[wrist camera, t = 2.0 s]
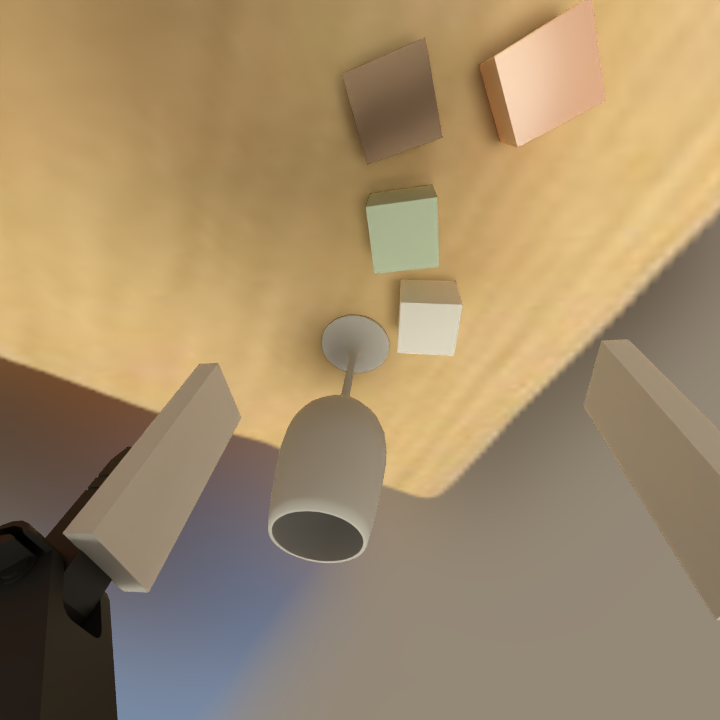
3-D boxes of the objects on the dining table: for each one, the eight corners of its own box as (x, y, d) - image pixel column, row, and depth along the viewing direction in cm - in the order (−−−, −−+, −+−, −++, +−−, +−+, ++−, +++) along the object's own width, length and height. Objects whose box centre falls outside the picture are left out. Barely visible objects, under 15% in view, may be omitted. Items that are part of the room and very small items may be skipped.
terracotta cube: (478, 64, 24) (494, 56, 20) (557, 15, 23) (591, -4, 19) (499, 141, 27) (517, 147, 23) (572, 101, 25) (605, 101, 21)
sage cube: (370, 193, 30) (365, 207, 26) (432, 184, 29) (437, 197, 25) (377, 252, 32) (374, 273, 28) (434, 246, 32) (439, 267, 27)
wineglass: (387, 310, 35) (373, 499, 18) (393, 371, 40) (387, 571, 23) (313, 315, 37) (236, 498, 20) (327, 374, 41) (273, 567, 24)
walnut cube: (351, 79, 25) (341, 73, 21) (421, 49, 24) (425, 37, 20) (372, 156, 28) (367, 164, 24) (436, 132, 27) (442, 137, 23)
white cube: (400, 278, 34) (400, 302, 30) (455, 280, 33) (462, 304, 29) (397, 325, 36) (397, 352, 32) (448, 327, 36) (453, 355, 32)
